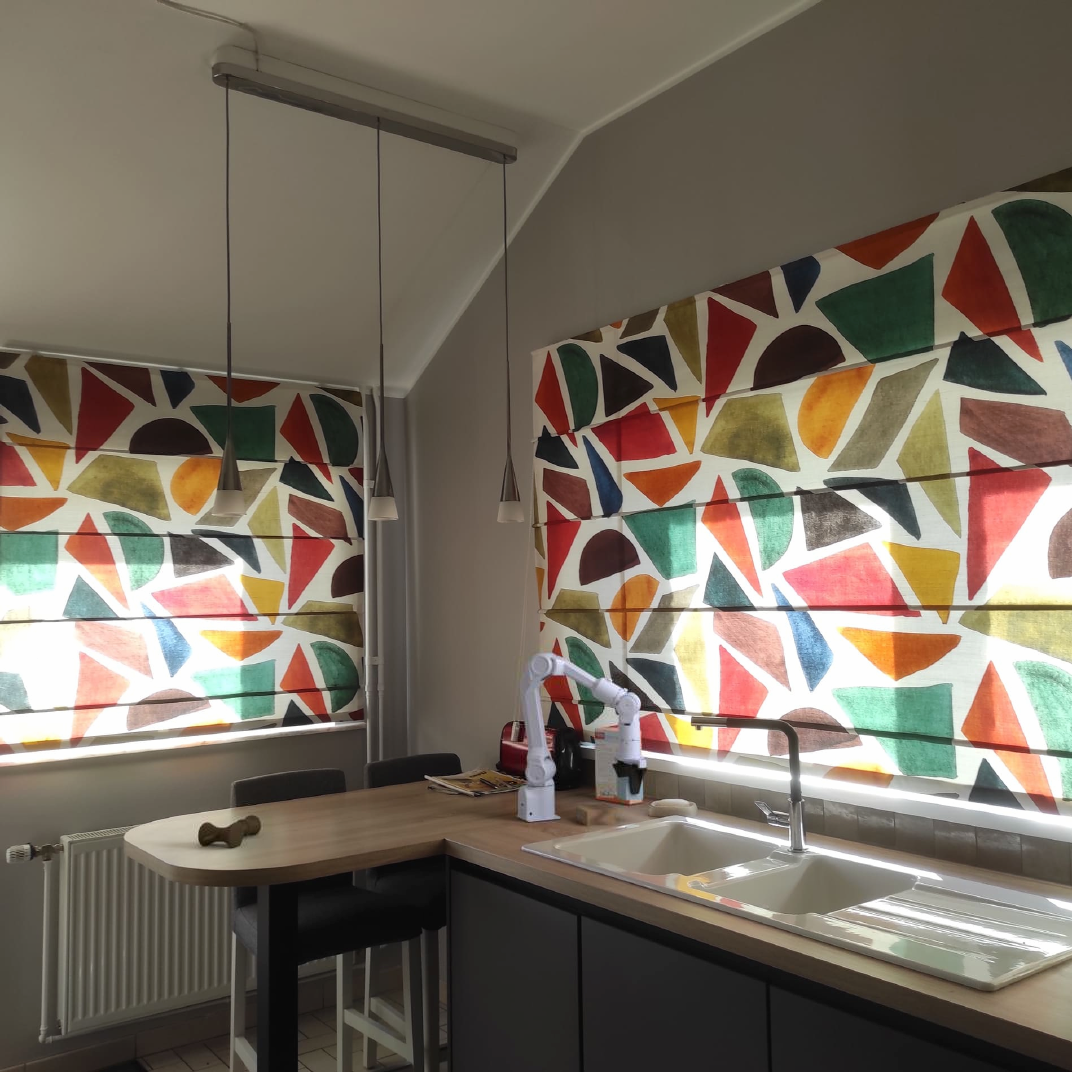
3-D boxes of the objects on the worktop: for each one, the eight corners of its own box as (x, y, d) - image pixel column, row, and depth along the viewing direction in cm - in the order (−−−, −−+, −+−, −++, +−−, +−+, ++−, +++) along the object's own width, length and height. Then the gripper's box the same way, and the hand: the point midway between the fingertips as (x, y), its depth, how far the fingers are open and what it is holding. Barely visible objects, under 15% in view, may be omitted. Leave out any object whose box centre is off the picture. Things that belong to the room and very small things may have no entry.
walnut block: (587, 827, 254) (587, 811, 254) (576, 821, 262) (576, 805, 262) (616, 825, 256) (616, 809, 257) (605, 819, 264) (604, 803, 264)
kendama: (270, 837, 248) (221, 853, 229) (237, 836, 251) (186, 852, 232) (270, 813, 248) (221, 826, 230) (237, 812, 251) (186, 825, 233)
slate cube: (626, 800, 256) (625, 780, 256) (617, 797, 260) (616, 777, 261) (643, 798, 258) (642, 779, 258) (633, 795, 262) (633, 776, 263)
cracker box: (643, 803, 284) (642, 729, 286) (629, 806, 280) (627, 731, 282) (609, 796, 295) (608, 725, 297) (594, 799, 291) (593, 727, 293)
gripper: (656, 741, 255) (657, 795, 254) (629, 735, 268) (630, 786, 267) (632, 743, 252) (633, 797, 251) (606, 737, 266) (606, 788, 265)
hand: (629, 792), depth 259 cm, fingers closed on slate cube, 5 cm apart
